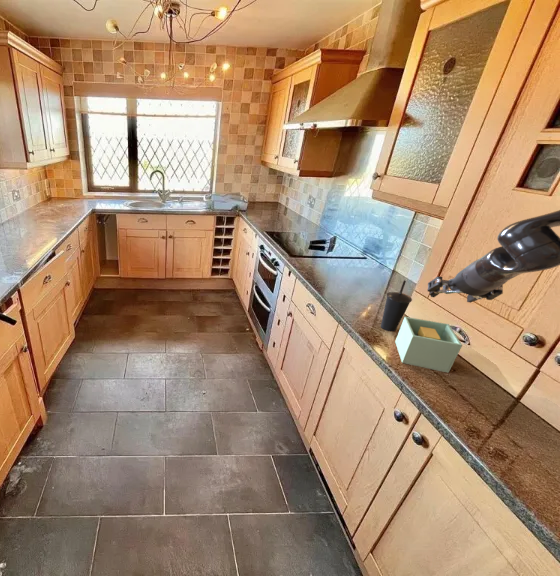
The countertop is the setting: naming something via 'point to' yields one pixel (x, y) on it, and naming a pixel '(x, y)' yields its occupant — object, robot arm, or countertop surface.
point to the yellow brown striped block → (428, 333)
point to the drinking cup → (394, 309)
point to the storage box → (427, 345)
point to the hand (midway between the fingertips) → (450, 296)
